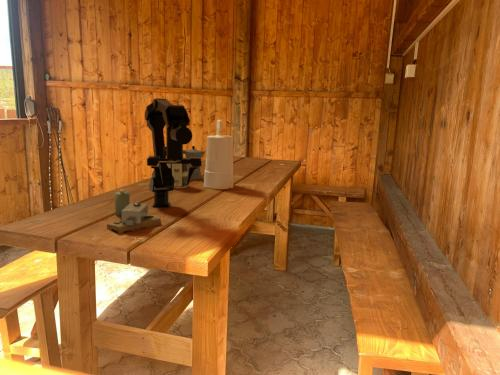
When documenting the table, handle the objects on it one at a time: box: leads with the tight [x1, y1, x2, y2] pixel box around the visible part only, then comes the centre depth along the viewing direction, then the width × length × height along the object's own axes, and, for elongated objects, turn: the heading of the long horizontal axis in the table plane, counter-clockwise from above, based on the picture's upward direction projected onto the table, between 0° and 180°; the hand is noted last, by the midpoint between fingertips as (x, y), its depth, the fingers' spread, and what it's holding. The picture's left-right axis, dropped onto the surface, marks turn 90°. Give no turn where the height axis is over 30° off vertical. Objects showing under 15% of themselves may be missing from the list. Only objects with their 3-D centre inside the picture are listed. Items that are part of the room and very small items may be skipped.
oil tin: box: [114, 189, 130, 217], centre depth 141 cm, size 5×5×9 cm
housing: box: [121, 202, 149, 225], centre depth 129 cm, size 14×6×5 cm, turn 1°
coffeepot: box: [183, 145, 206, 180], centre depth 215 cm, size 15×9×18 cm, turn 103°
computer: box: [106, 214, 162, 235], centre depth 129 cm, size 16×8×3 cm, turn 136°
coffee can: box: [167, 157, 188, 189], centre depth 192 cm, size 10×10×14 cm
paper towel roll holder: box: [203, 119, 235, 190], centre depth 195 cm, size 15×15×33 cm
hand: (174, 185), depth 139 cm, fingers open, 9 cm apart
